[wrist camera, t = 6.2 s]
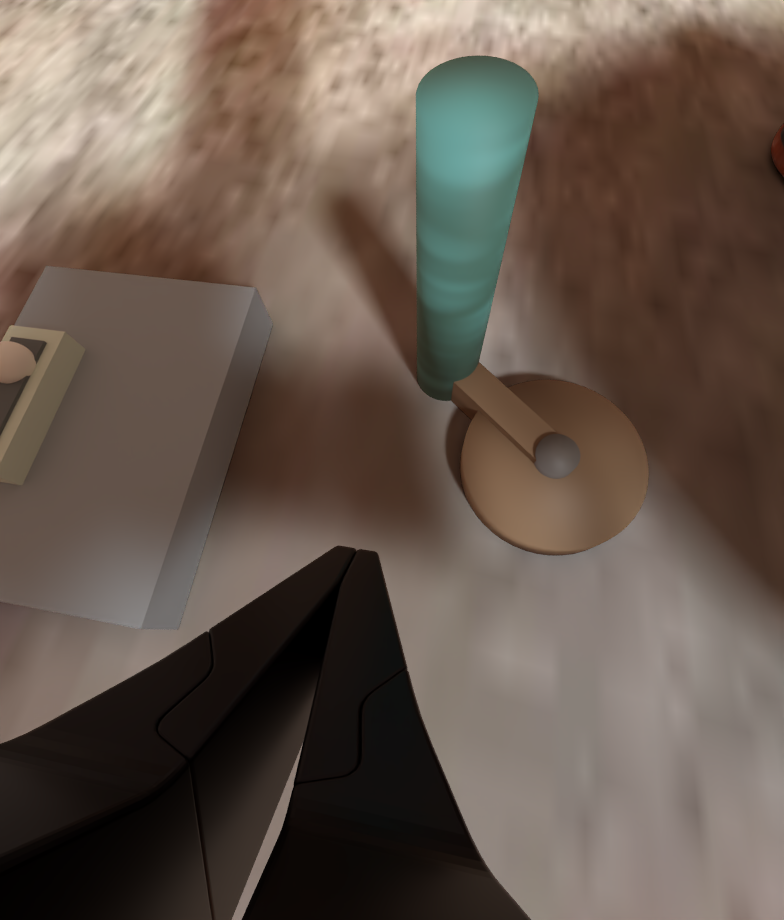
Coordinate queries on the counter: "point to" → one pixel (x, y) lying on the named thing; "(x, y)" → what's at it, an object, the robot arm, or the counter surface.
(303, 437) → the counter surface
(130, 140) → the counter surface
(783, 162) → the supplement bottle
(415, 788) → the robot arm
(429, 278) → the crank handle
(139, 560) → the stand
